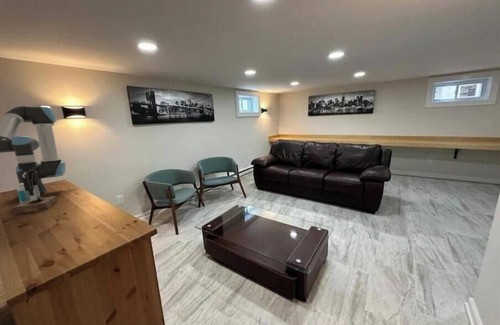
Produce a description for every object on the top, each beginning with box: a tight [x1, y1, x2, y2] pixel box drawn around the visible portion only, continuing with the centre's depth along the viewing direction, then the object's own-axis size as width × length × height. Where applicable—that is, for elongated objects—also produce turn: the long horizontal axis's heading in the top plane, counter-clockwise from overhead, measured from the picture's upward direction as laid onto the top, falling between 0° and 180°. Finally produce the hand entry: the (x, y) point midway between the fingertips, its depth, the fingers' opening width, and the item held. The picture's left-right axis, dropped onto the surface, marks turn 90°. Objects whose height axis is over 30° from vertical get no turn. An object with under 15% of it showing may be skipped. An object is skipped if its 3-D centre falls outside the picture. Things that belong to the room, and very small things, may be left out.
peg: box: [32, 185, 42, 203], centre depth 126 cm, size 4×4×12 cm
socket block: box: [13, 195, 58, 215], centre depth 128 cm, size 14×14×4 cm
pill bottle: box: [16, 183, 30, 204], centre depth 135 cm, size 8×7×14 cm
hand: (35, 199), depth 127 cm, fingers closed on peg, 3 cm apart
